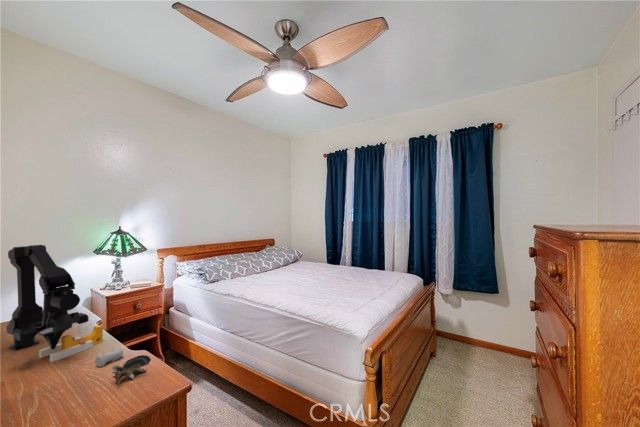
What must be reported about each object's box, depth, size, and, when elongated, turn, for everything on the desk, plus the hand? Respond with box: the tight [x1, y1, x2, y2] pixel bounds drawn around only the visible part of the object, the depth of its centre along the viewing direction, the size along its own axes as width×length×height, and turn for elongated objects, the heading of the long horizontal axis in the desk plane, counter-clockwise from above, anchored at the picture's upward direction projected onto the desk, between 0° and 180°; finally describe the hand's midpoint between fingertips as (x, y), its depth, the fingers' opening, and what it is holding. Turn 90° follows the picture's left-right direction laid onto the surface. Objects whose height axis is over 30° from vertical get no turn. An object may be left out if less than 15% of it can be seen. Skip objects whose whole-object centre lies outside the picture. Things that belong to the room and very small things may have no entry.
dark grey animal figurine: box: [111, 354, 152, 385], centre depth 83 cm, size 8×7×9 cm
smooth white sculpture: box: [94, 348, 124, 368], centre depth 92 cm, size 4×8×5 cm
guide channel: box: [38, 336, 94, 363], centre depth 99 cm, size 9×12×3 cm
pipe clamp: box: [60, 324, 104, 350], centre depth 102 cm, size 12×4×6 cm, turn 156°
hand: (53, 349), depth 95 cm, fingers closed
